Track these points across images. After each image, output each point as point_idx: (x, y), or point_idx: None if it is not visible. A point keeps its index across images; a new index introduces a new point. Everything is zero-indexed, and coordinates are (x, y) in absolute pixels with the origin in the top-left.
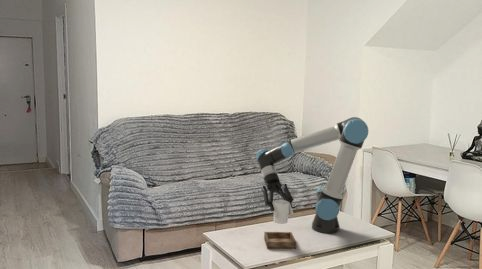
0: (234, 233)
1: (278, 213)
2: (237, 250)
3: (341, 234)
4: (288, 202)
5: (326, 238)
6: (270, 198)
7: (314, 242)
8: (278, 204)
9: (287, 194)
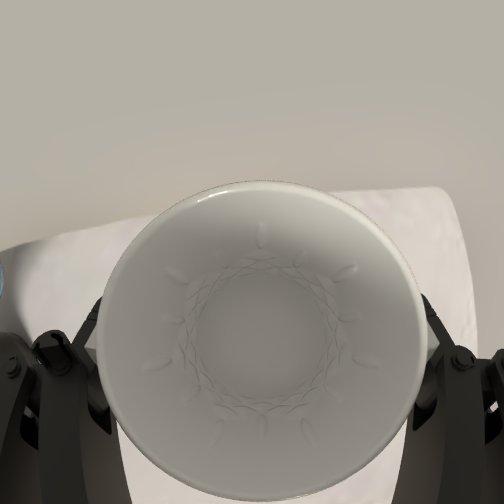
0: (392, 477)
1: (330, 280)
2: (453, 302)
3: (4, 312)
4: (112, 324)
5: (48, 303)
6: (473, 452)
7: (103, 284)
8: (388, 240)
9: (21, 497)
